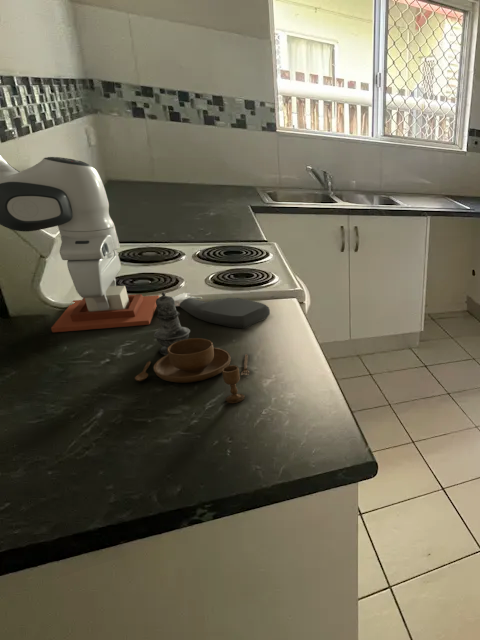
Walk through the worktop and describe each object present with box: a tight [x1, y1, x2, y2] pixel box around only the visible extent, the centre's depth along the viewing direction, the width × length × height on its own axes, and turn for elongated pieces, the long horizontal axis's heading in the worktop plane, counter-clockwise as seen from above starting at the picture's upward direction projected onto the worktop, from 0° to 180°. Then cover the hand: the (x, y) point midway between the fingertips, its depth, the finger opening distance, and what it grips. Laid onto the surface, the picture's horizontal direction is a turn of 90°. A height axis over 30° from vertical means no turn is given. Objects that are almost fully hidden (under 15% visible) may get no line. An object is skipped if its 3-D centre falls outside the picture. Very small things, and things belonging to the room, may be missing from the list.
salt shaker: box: [153, 291, 191, 356], centre depth 91 cm, size 6×6×12 cm
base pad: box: [50, 293, 160, 333], centre depth 104 cm, size 16×16×2 cm
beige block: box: [85, 285, 130, 312], centre depth 104 cm, size 6×6×4 cm
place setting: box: [134, 337, 250, 404], centre depth 83 cm, size 18×20×6 cm
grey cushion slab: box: [171, 291, 271, 329], centre depth 110 cm, size 3×11×24 cm
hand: (108, 302), depth 104 cm, fingers closed on beige block, 6 cm apart
